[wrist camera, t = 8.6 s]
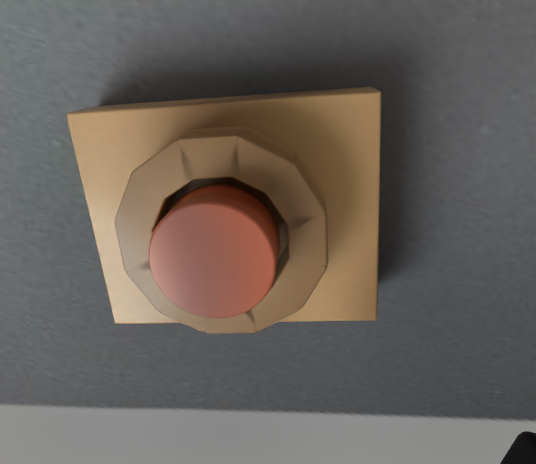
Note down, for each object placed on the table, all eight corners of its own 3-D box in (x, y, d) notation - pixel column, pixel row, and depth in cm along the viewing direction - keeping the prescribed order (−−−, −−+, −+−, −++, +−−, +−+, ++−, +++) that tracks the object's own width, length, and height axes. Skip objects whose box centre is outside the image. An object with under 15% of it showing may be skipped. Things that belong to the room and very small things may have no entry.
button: (276, 180, 13) (271, 198, 11) (283, 288, 14) (280, 318, 13) (157, 186, 13) (136, 204, 12) (175, 291, 15) (159, 320, 13)
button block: (372, 86, 15) (392, 96, 12) (370, 291, 18) (385, 351, 14) (95, 105, 16) (32, 121, 13) (135, 296, 19) (93, 353, 16)
